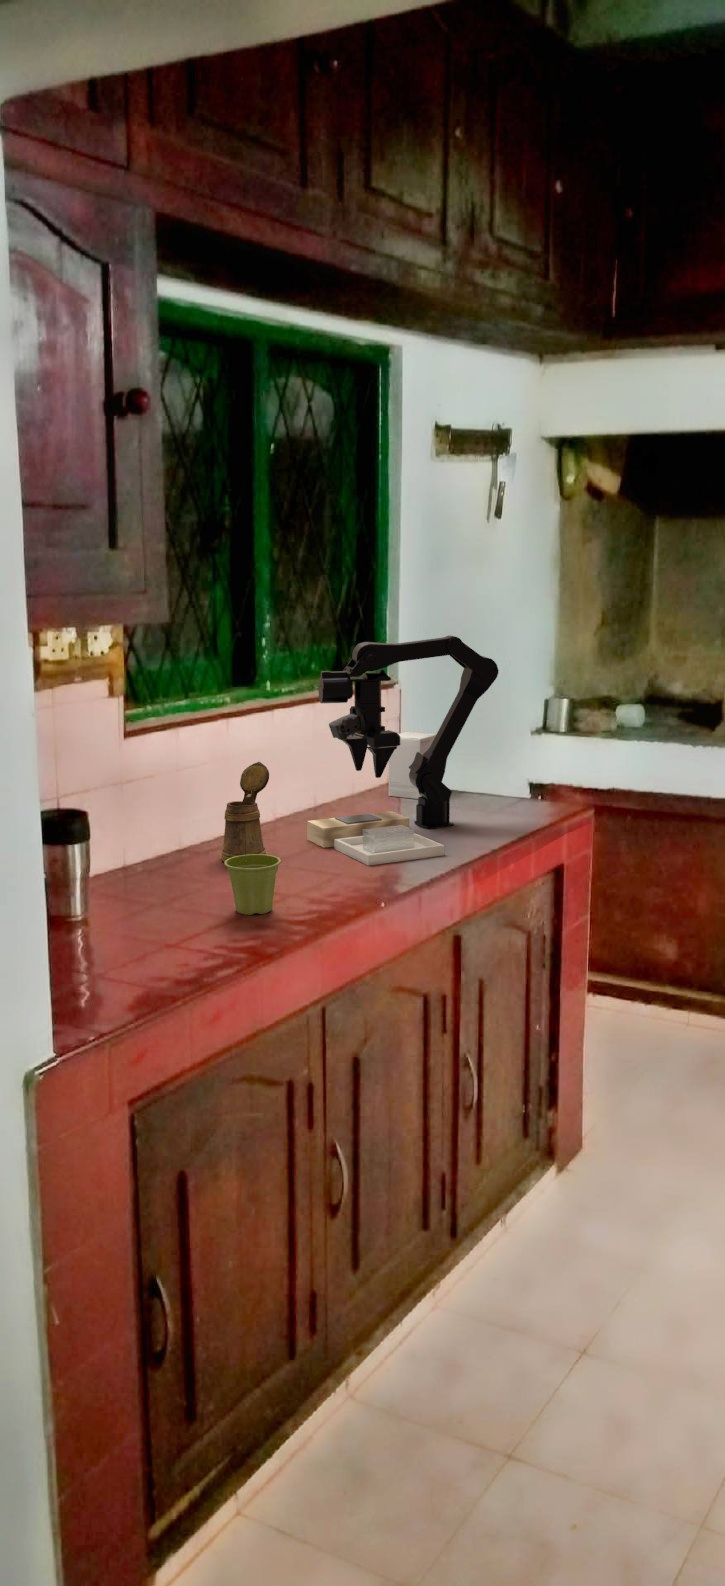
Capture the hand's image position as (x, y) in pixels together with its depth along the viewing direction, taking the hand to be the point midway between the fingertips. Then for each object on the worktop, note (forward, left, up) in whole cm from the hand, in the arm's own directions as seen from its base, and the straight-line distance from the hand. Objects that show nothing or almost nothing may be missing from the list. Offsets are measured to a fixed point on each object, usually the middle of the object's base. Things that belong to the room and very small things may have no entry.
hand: (368, 774), depth 268 cm
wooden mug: (+32, +10, -12) cm, 36 cm away
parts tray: (+6, +21, -12) cm, 24 cm away
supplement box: (-26, -27, -12) cm, 39 cm away
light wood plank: (+6, +7, -12) cm, 15 cm away
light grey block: (+6, +21, -11) cm, 24 cm away
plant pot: (+45, +45, -12) cm, 65 cm away
